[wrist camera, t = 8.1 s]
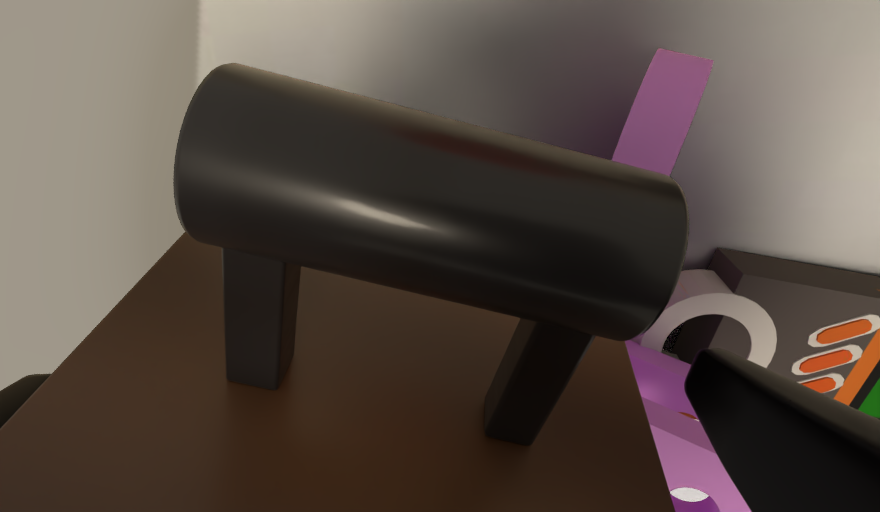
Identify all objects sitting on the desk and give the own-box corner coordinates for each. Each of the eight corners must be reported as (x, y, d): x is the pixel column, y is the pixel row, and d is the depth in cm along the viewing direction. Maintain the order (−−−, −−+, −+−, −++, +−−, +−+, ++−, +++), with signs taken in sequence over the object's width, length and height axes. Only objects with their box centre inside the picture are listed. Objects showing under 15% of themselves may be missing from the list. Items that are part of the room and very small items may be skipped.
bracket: (532, 392, 20) (711, 476, 18) (493, 472, 15) (733, 599, 13) (658, 65, 16) (905, 122, 14) (661, 27, 11) (1041, 108, 9)
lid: (764, 1018, 4) (1956, 1220, 1) (-312, 855, 3) (-2455, 553, 1) (581, 260, 12) (677, 67, 10) (258, 181, 12) (263, -45, 9)
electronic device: (675, 265, 16) (1137, 349, 16) (650, 232, 19) (1046, 303, 19) (613, 418, 19) (1003, 491, 19) (599, 370, 22) (940, 434, 22)
